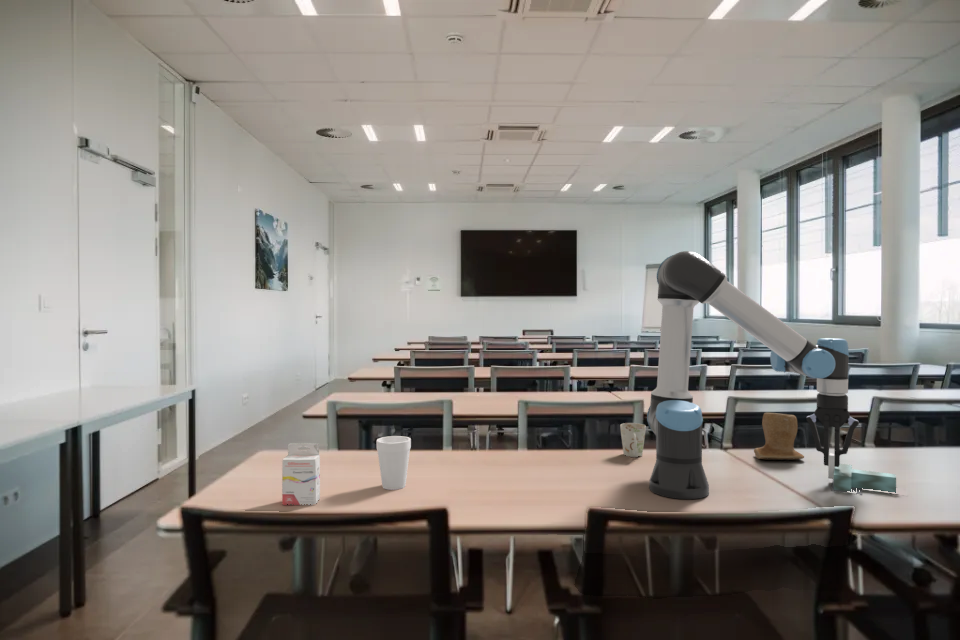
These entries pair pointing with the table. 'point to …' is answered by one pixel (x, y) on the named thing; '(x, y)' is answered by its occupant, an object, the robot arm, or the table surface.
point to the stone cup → (778, 437)
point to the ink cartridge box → (301, 475)
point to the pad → (846, 491)
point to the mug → (633, 438)
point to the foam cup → (393, 460)
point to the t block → (862, 479)
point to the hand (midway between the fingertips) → (831, 477)
